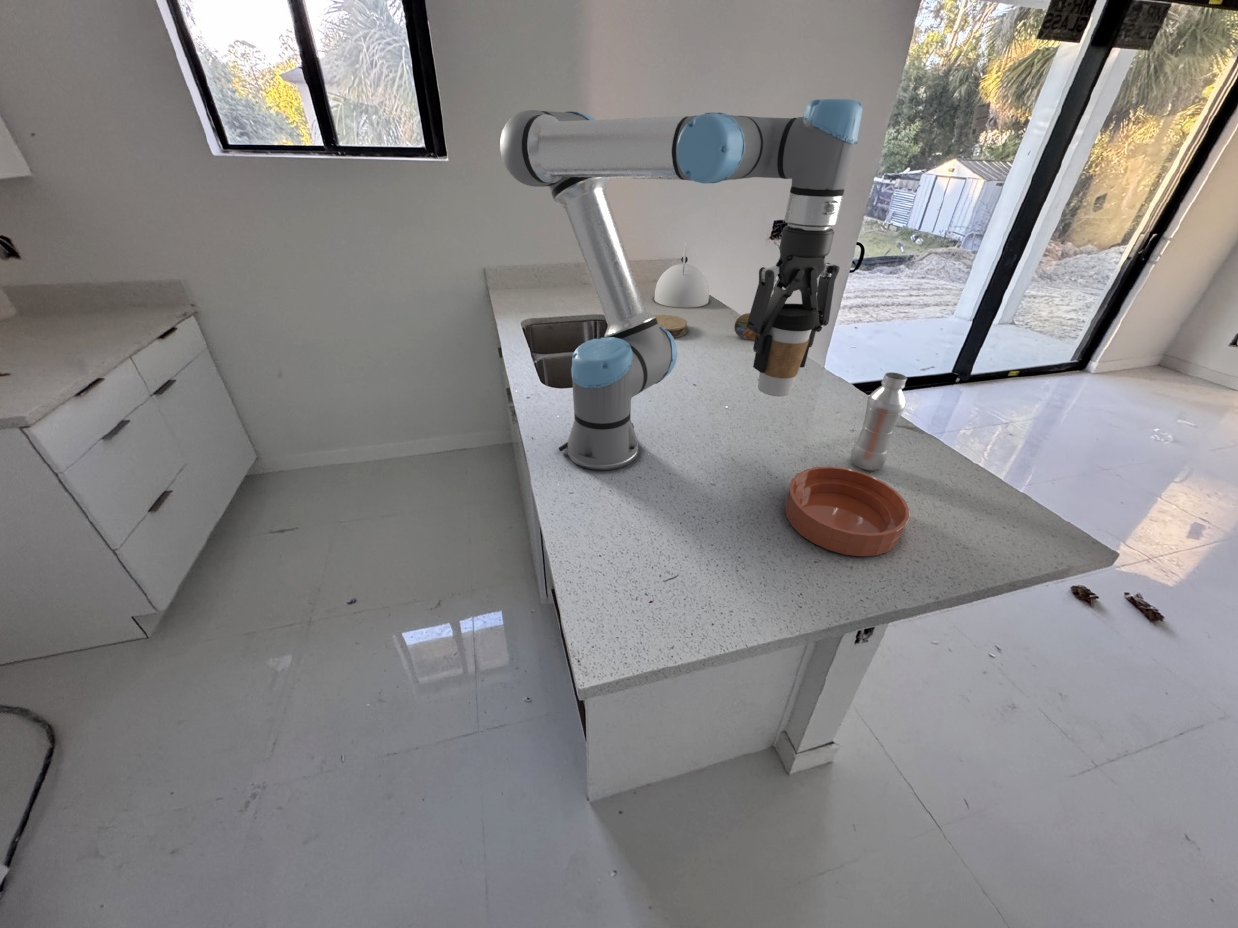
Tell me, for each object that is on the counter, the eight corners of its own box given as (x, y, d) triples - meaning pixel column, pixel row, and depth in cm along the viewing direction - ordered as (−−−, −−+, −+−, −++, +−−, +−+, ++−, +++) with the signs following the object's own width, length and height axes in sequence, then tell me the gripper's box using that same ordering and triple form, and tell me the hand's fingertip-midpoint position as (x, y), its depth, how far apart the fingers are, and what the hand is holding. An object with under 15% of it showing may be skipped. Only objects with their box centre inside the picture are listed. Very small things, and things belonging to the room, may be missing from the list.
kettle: (656, 290, 217) (659, 235, 204) (708, 292, 214) (714, 236, 202) (652, 306, 196) (654, 245, 184) (708, 308, 194) (715, 247, 181)
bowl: (832, 570, 77) (840, 547, 74) (763, 499, 92) (768, 477, 89) (925, 542, 82) (936, 520, 79) (845, 479, 97) (852, 459, 94)
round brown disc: (680, 340, 163) (681, 331, 162) (635, 334, 168) (636, 326, 166) (690, 325, 176) (691, 317, 174) (648, 321, 180) (648, 313, 178)
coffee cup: (800, 402, 85) (822, 317, 77) (751, 396, 86) (767, 312, 78) (796, 382, 92) (816, 302, 83) (750, 377, 93) (765, 298, 85)
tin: (732, 337, 166) (736, 312, 161) (734, 334, 168) (737, 310, 164) (777, 343, 161) (782, 318, 156) (779, 340, 164) (784, 315, 159)
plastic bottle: (880, 478, 98) (914, 386, 86) (844, 467, 100) (873, 378, 89) (884, 463, 102) (918, 374, 91) (850, 453, 105) (879, 366, 94)
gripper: (765, 232, 68) (739, 382, 81) (880, 227, 74) (839, 368, 87) (737, 224, 74) (718, 365, 87) (846, 220, 80) (812, 353, 92)
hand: (778, 367), depth 87 cm, fingers closed on coffee cup, 7 cm apart
